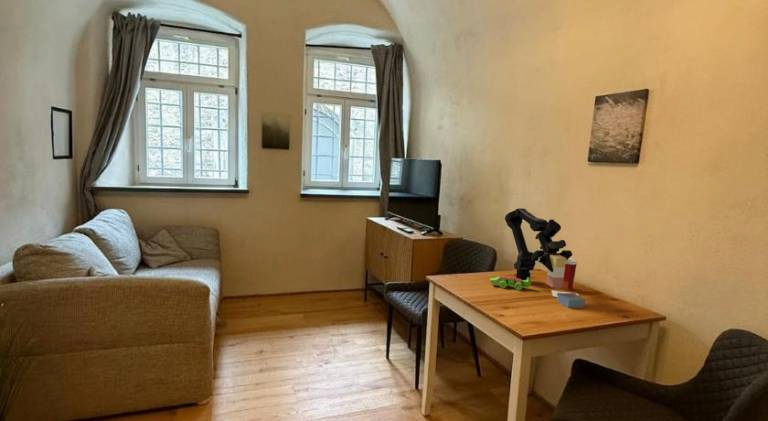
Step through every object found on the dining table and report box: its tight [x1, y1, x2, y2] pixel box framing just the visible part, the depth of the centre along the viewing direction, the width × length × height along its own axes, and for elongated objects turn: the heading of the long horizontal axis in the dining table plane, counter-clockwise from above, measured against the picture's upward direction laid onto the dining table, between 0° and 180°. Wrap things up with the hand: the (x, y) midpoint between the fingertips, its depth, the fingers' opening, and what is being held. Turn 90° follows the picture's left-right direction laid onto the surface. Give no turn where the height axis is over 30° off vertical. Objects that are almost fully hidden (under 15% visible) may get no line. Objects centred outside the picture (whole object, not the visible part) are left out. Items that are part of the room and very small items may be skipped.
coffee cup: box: [558, 257, 578, 291], centre depth 210 cm, size 8×8×15 cm
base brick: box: [557, 292, 586, 309], centre depth 188 cm, size 8×8×4 cm
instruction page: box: [551, 290, 580, 298], centre depth 200 cm, size 12×9×1 cm
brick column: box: [545, 255, 566, 288], centre depth 193 cm, size 5×5×14 cm
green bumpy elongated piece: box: [489, 275, 532, 291], centre depth 208 cm, size 20×7×6 cm, turn 74°
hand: (557, 271), depth 192 cm, fingers closed on brick column, 5 cm apart
